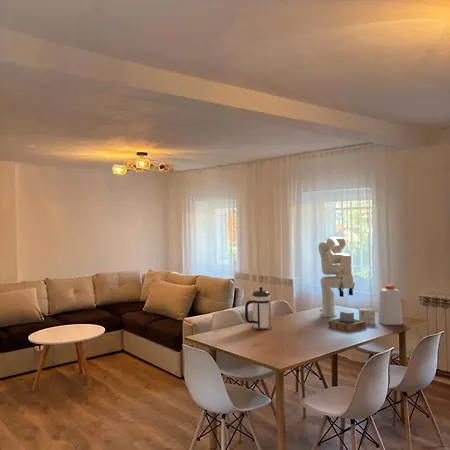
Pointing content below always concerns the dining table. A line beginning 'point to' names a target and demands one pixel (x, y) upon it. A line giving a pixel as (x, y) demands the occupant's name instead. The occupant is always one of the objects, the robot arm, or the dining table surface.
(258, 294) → the coffee press
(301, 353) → the dining table surface
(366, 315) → the light bulb box
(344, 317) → the block
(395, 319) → the plastic bottle
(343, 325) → the walnut stand
